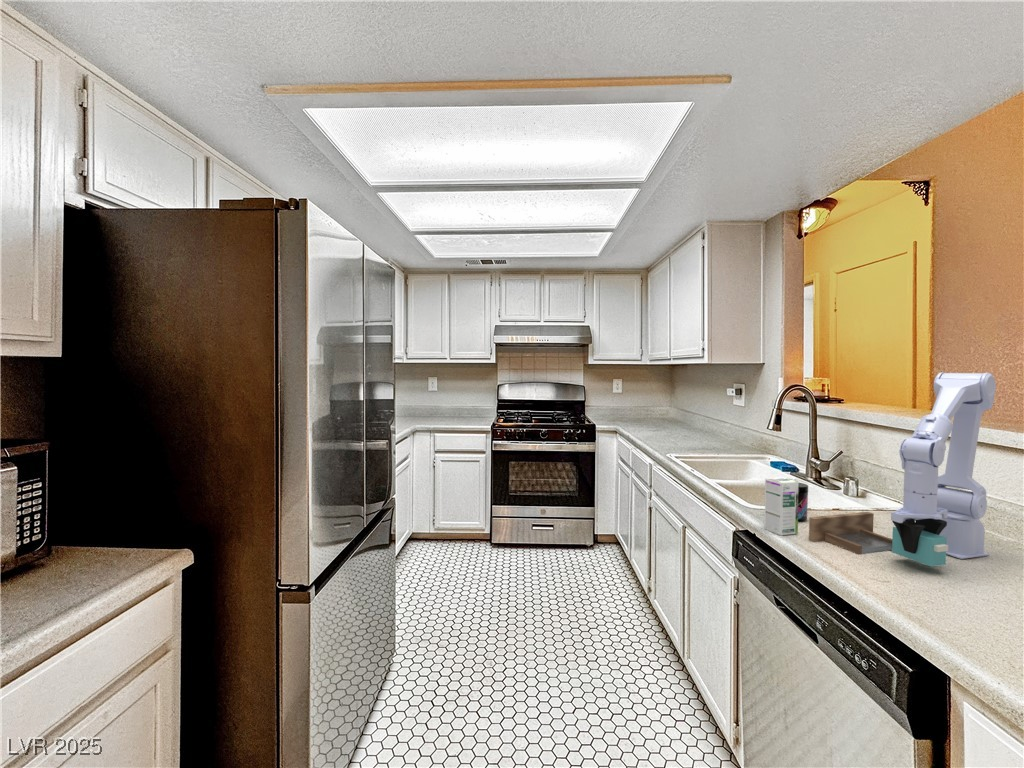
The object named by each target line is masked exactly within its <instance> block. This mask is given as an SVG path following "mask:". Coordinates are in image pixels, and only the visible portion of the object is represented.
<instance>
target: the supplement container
mask: <svg viewBox="0 0 1024 768" xmlns="http://www.w3.org/2000/svg"><path fill="white" fill-rule="evenodd" d="M808 501H809V485H808V484H806V483H805V482H804V483H803V482H799V481H798V523H801V522H803V523H804V522H806V521H807V520H808V507H809V506H808V505H809V504H808V503H809V502H808Z"/></svg>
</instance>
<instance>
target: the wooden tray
mask: <svg viewBox="0 0 1024 768" xmlns="http://www.w3.org/2000/svg"><path fill="white" fill-rule="evenodd" d="M874 515H875V514H874V512H870V511H861V512H853V513H841V514H830V515H819V516H810V517H809V519H808V522H809V523H808V524H809V526H808V541H811V542H813V543H817V542H818V543H819V542H826V541H827V542H826V543H829V544H831V543H832V544H831V545H834V546H836V545H837V547H839V546H840V547H839V548H841V547H843V548H842V549H844V548H845V549H844V550H846V549H848V550H847V551H849V550H850V551H849V552H851V551H852V553H854V552H855V554H856V553H857V554H856V555H863V554H862V546H861V545H859V544H856V543H853V542H851V541H848V540H845V539H843V538H840V537H837V536H835V535H843V534H852V533H863V534H866V535H869V536H871V537H874V538H877V539H880V540H883V541H886V542H889V543H891V544H892V538H890V537H888V536H885V535H881V534H878V533H877V532H876V533H875V532H874V518H875V517H874Z"/></svg>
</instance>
